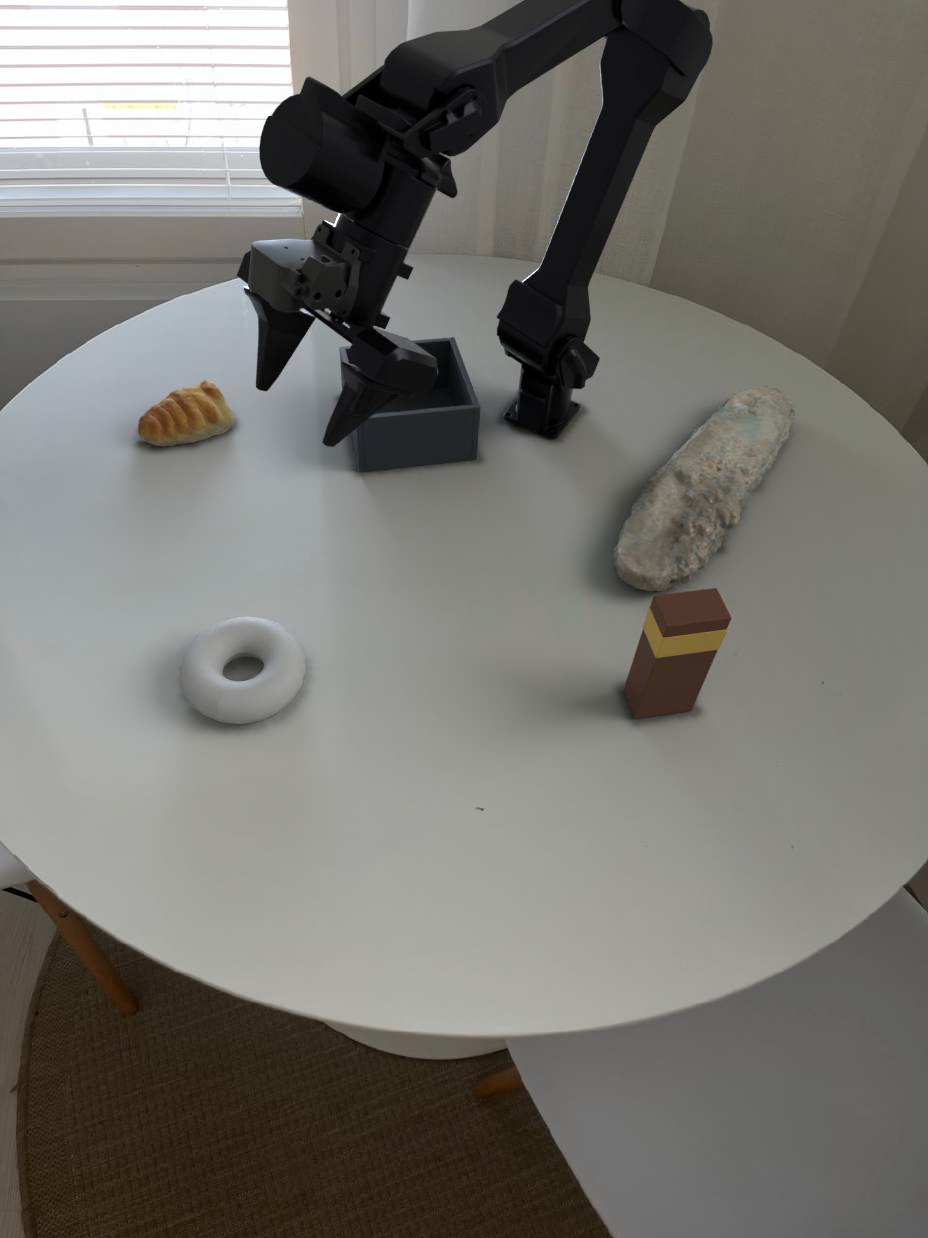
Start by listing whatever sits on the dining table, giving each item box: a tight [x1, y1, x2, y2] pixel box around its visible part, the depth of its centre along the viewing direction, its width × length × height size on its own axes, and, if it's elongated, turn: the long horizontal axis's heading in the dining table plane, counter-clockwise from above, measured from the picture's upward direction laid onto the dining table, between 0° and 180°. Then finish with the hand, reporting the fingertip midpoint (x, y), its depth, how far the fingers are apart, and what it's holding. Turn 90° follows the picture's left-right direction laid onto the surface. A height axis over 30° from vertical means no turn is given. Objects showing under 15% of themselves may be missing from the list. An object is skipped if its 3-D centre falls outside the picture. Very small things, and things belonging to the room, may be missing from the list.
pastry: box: [137, 380, 235, 448], centre depth 93 cm, size 9×7×4 cm
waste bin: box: [338, 336, 482, 473], centre depth 94 cm, size 12×12×7 cm
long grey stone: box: [612, 385, 796, 592], centre depth 91 cm, size 35×5×10 cm
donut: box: [179, 615, 307, 725], centre depth 73 cm, size 10×3×10 cm
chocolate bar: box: [623, 587, 732, 720], centre depth 71 cm, size 3×5×12 cm, turn 102°
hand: (293, 416), depth 73 cm, fingers open, 9 cm apart
